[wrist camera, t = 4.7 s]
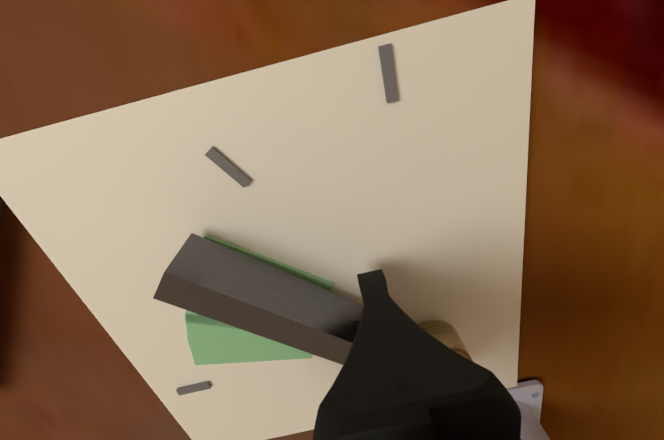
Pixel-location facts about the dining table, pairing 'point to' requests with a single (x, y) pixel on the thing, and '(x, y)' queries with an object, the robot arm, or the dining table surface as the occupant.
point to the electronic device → (0, 208)
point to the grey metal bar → (270, 301)
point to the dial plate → (298, 206)
